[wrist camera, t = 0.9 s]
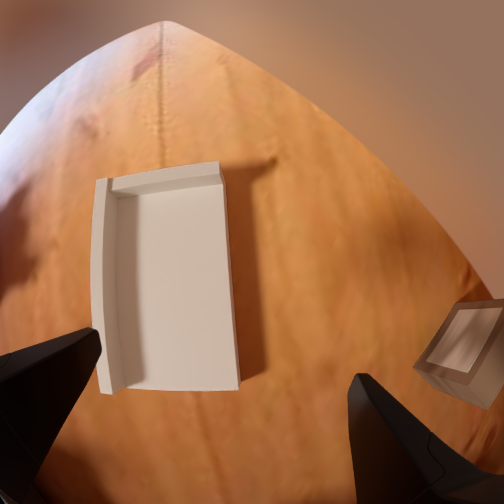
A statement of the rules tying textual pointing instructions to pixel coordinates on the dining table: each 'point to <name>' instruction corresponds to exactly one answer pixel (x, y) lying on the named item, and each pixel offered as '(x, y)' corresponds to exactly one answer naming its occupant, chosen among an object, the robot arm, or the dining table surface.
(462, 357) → the grey brown rectangular block
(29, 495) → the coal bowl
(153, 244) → the ledge
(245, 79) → the dining table surface
